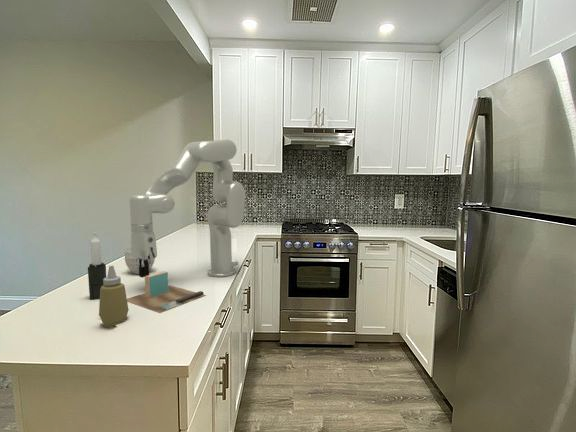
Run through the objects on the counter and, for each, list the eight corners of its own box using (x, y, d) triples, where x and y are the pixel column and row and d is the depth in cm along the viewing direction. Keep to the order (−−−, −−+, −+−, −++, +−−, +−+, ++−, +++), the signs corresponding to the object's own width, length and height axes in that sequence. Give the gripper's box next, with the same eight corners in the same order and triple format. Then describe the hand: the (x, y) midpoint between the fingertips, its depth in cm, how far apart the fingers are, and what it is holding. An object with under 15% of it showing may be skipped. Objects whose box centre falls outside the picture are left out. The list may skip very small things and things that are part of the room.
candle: (89, 303, 123) (84, 233, 120) (93, 298, 128) (88, 231, 125) (105, 302, 124) (100, 232, 121) (108, 297, 129) (104, 230, 126)
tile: (164, 291, 132) (164, 271, 131) (168, 292, 130) (167, 272, 129) (146, 297, 125) (145, 276, 124) (149, 299, 124) (148, 277, 123)
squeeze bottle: (121, 316, 112) (118, 261, 110) (134, 323, 107) (131, 265, 104) (95, 324, 106) (91, 266, 103) (106, 332, 100) (103, 271, 98)
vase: (155, 274, 158) (154, 238, 156) (124, 277, 153) (122, 240, 151) (155, 267, 170) (153, 234, 168) (126, 270, 165) (124, 235, 163)
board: (169, 288, 139) (169, 285, 139) (206, 298, 128) (206, 295, 128) (122, 303, 123) (122, 300, 123) (160, 316, 111) (159, 313, 111)
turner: (197, 292, 130) (197, 290, 130) (206, 295, 128) (206, 292, 128) (158, 307, 116) (158, 304, 116) (167, 310, 114) (167, 307, 114)
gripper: (163, 228, 128) (165, 277, 130) (139, 225, 136) (141, 271, 138) (145, 231, 122) (147, 282, 124) (120, 227, 130) (123, 275, 132)
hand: (144, 276), depth 131 cm, fingers closed
